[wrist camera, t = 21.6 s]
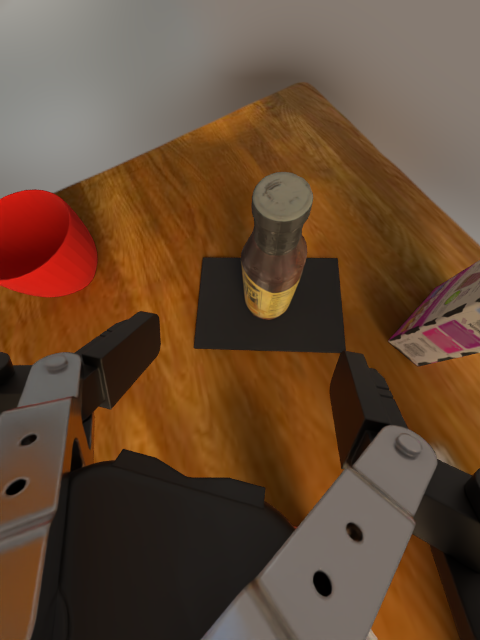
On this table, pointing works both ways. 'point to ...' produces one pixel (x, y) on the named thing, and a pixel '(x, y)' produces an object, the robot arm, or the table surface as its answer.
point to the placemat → (281, 332)
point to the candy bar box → (444, 322)
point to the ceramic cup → (44, 245)
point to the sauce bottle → (275, 243)
